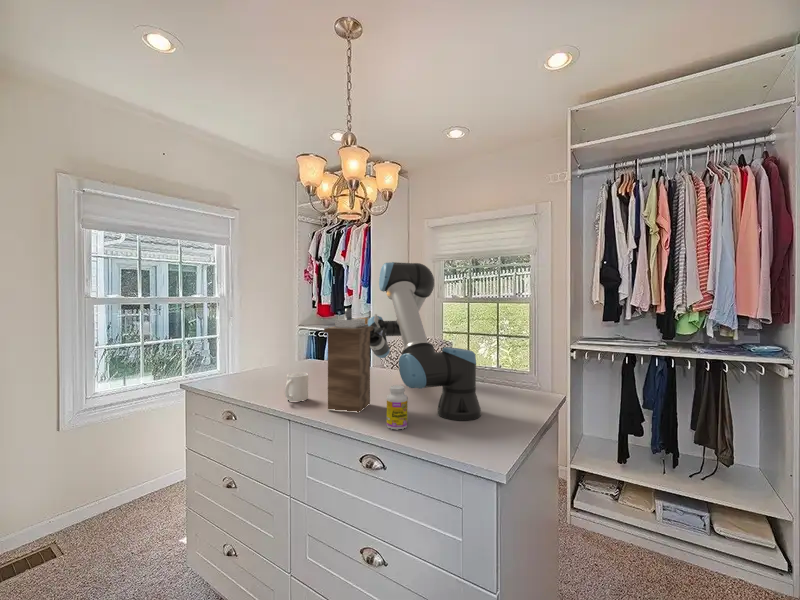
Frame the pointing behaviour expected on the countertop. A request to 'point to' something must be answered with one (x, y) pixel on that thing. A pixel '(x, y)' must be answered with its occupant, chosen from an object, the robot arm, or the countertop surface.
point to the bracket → (350, 321)
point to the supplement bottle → (397, 408)
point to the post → (348, 368)
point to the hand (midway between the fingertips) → (359, 317)
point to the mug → (297, 387)
